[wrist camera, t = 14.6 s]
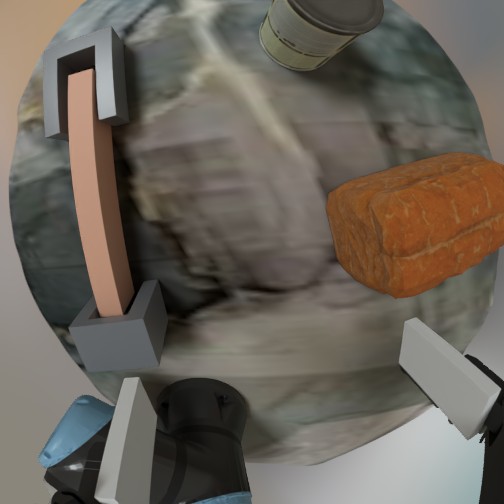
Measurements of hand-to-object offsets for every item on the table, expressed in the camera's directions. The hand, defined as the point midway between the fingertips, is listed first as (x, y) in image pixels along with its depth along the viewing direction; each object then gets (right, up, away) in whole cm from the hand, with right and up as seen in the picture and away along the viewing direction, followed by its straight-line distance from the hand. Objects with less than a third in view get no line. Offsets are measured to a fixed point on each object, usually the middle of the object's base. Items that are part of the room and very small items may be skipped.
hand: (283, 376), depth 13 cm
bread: (+22, +12, +28) cm, 38 cm away
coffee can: (+4, +34, +19) cm, 39 cm away
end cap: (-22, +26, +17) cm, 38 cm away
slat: (-20, +14, +21) cm, 32 cm away
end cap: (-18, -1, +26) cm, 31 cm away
